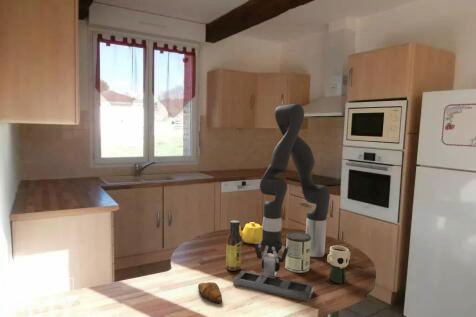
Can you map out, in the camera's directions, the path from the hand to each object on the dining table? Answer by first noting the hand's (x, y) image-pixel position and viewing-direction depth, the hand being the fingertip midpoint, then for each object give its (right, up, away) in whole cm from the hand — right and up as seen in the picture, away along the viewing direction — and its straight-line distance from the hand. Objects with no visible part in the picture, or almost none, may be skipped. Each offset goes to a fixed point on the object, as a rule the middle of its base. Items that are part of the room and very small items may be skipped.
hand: (270, 269), depth 132 cm
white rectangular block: (0, -1, 0) cm, 1 cm away
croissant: (-23, -4, -17) cm, 28 cm away
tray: (0, -4, -10) cm, 10 cm away
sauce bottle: (-15, -2, +7) cm, 17 cm away
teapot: (-6, +1, +42) cm, 43 cm away
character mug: (+26, -4, -1) cm, 26 cm away
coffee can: (+12, -3, +10) cm, 16 cm away
